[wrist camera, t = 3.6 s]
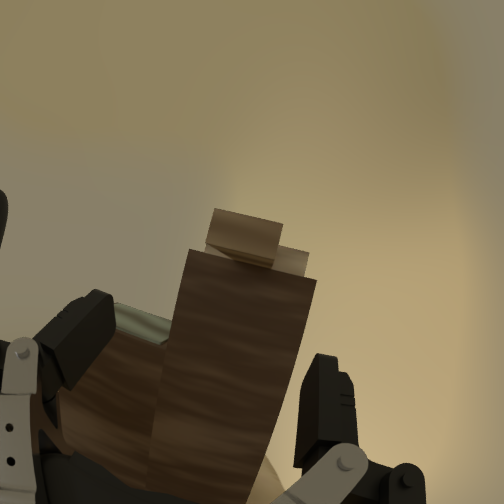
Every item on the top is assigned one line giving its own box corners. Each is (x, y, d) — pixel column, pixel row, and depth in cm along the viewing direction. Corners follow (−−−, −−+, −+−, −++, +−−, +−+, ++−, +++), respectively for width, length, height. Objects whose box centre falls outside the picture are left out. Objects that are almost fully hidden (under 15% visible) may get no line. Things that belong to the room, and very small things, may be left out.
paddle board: (338, 275, 14) (348, 226, 14) (147, 228, 14) (161, 183, 15) (293, 278, 38) (298, 259, 38) (220, 260, 38) (224, 242, 38)
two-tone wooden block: (237, 522, 23) (316, 280, 26) (61, 453, 25) (82, 221, 27) (244, 468, 36) (299, 280, 39) (104, 420, 38) (133, 238, 41)
